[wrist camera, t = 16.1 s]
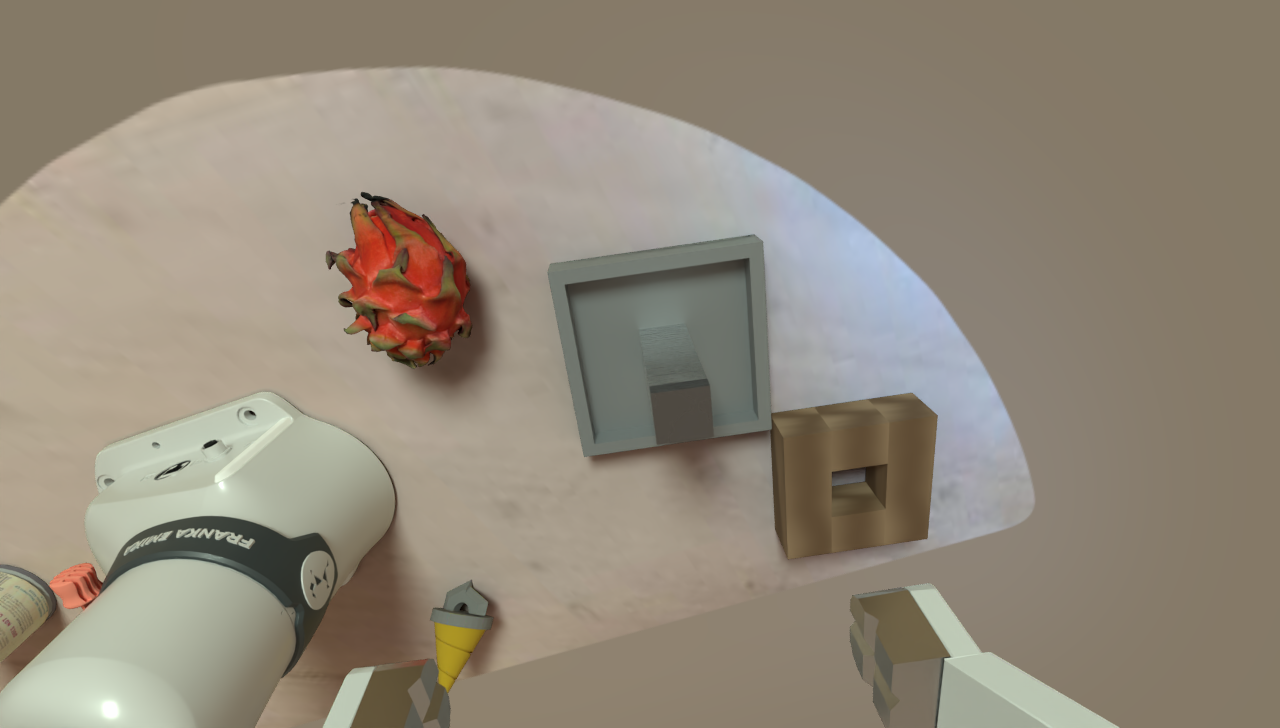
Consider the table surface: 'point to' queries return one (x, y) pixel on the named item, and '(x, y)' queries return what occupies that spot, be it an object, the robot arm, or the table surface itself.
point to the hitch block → (846, 439)
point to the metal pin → (676, 385)
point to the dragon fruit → (403, 283)
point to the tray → (653, 297)
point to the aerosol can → (21, 607)
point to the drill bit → (458, 631)
